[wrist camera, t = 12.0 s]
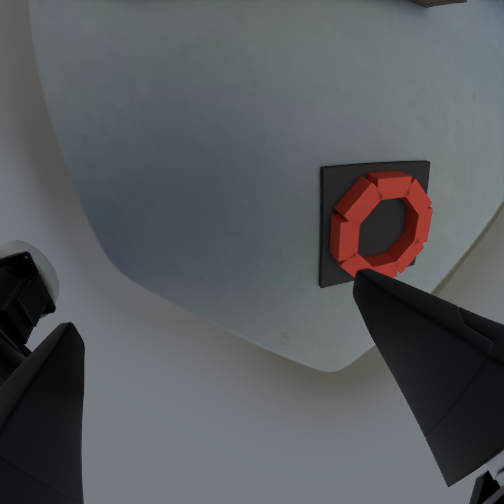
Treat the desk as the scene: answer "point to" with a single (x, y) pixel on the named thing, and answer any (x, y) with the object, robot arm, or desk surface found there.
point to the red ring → (358, 208)
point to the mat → (375, 224)
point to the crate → (436, 2)
